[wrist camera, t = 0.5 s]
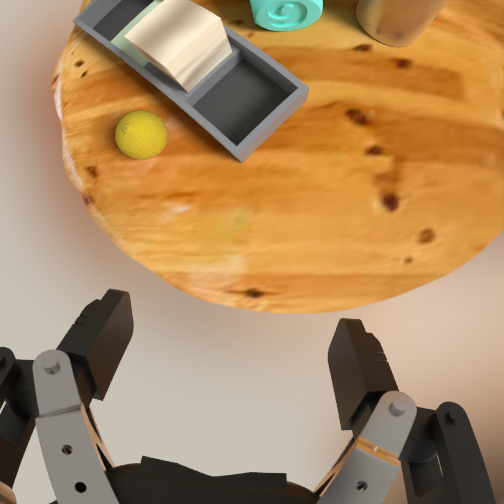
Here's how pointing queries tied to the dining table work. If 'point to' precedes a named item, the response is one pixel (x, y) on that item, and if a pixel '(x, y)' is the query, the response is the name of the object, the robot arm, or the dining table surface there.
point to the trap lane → (208, 79)
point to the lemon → (141, 135)
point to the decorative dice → (286, 13)
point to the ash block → (181, 41)
